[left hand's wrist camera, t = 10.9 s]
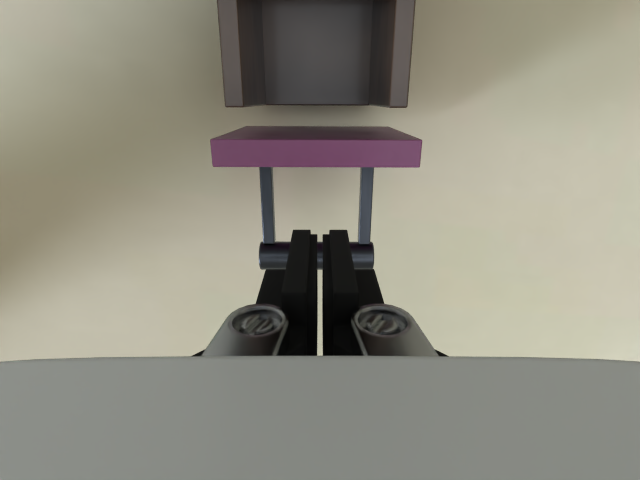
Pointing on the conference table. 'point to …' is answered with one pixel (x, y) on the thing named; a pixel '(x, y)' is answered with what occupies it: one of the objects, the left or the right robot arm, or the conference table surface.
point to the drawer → (316, 95)
